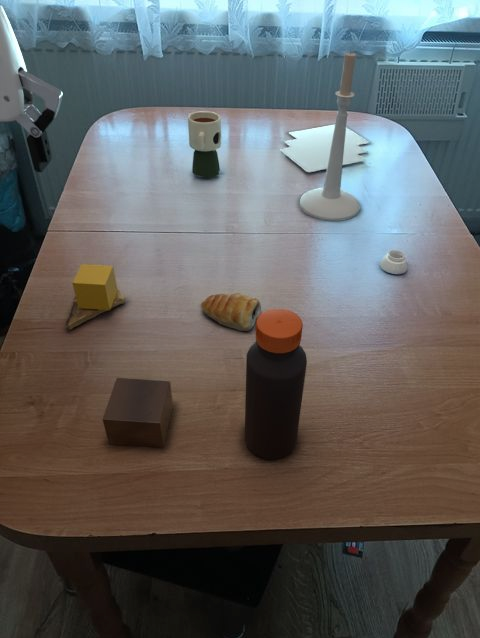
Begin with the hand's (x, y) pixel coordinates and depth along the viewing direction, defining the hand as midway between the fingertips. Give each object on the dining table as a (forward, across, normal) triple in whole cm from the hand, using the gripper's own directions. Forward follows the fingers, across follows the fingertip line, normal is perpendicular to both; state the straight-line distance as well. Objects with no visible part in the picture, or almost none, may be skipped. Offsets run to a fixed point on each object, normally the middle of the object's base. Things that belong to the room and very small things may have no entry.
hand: (1, 164), depth 62 cm
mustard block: (+26, +4, +9) cm, 28 cm away
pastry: (+28, +26, +9) cm, 40 cm away
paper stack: (+28, +43, +78) cm, 93 cm away
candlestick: (+28, +43, +48) cm, 70 cm away
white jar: (+28, +54, +26) cm, 66 cm away
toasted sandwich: (+28, +4, +9) cm, 30 cm away
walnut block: (+28, +16, -14) cm, 35 cm away
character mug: (+28, +15, +59) cm, 67 cm away
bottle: (+28, +33, -15) cm, 46 cm away
